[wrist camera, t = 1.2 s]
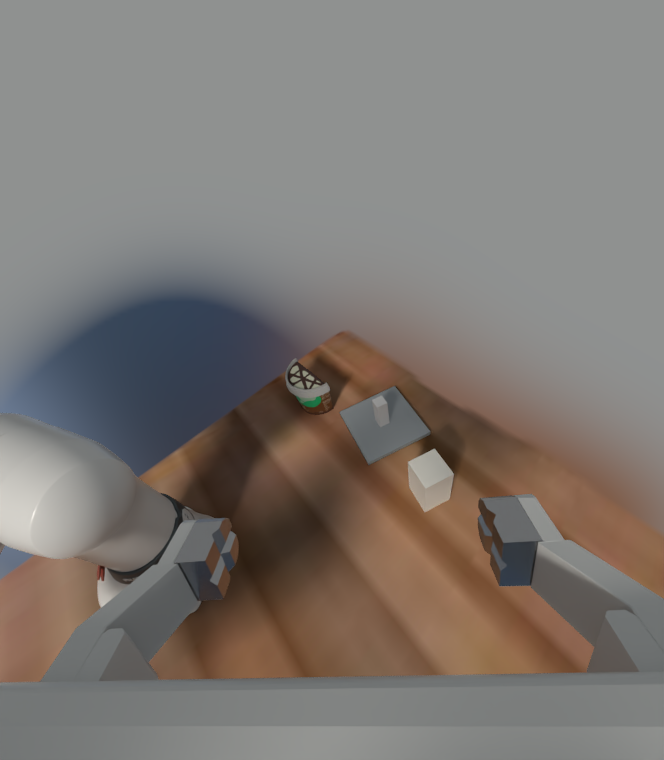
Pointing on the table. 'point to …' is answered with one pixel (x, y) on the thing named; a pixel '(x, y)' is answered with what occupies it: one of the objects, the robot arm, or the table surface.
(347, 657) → the table surface
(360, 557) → the table surface
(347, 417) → the post stand
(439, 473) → the tall white pillar
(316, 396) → the food container
